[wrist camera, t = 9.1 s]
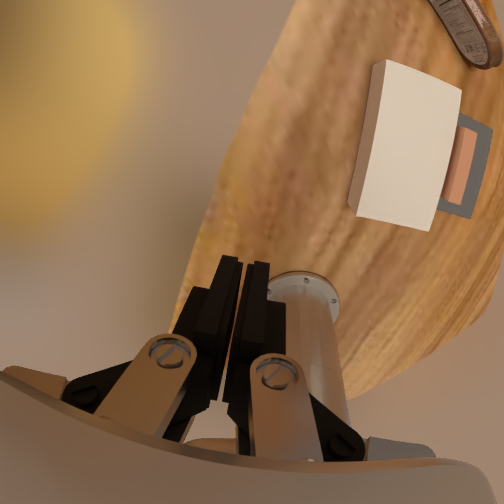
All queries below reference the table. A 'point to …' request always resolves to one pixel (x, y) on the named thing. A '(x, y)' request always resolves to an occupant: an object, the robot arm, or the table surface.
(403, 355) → the table surface
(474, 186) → the mat
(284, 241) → the table surface
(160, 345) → the robot arm
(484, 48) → the tin
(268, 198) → the table surface
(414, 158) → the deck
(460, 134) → the tile
